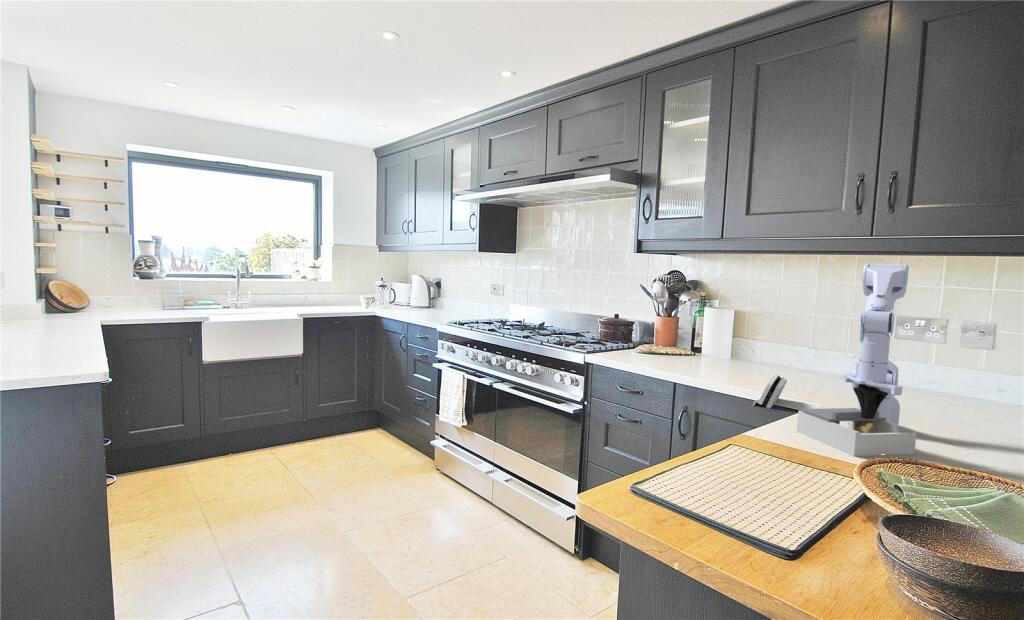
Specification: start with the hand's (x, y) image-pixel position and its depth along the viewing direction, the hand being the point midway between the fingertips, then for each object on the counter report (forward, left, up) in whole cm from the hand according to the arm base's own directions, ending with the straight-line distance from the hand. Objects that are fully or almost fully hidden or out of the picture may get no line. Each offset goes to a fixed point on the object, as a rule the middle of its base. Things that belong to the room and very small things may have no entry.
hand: (868, 418), depth 128 cm
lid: (+2, -5, -1) cm, 6 cm away
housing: (+2, -2, -7) cm, 7 cm away
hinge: (-4, -40, -7) cm, 41 cm away
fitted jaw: (-2, -3, -6) cm, 8 cm away
